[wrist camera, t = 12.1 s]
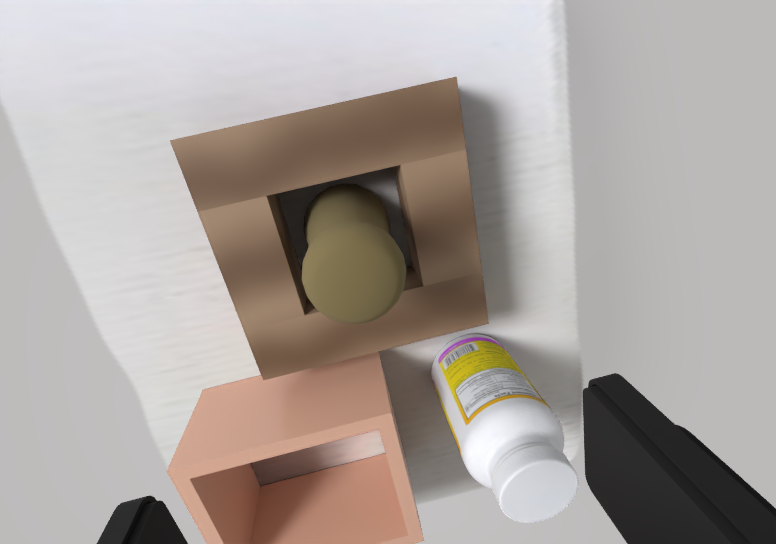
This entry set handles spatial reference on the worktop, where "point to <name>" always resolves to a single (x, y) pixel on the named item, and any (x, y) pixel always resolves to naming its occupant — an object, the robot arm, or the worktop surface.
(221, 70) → the worktop surface
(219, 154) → the socket block
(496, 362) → the supplement bottle
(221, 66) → the worktop surface
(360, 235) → the cork
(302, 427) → the collar
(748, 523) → the robot arm
